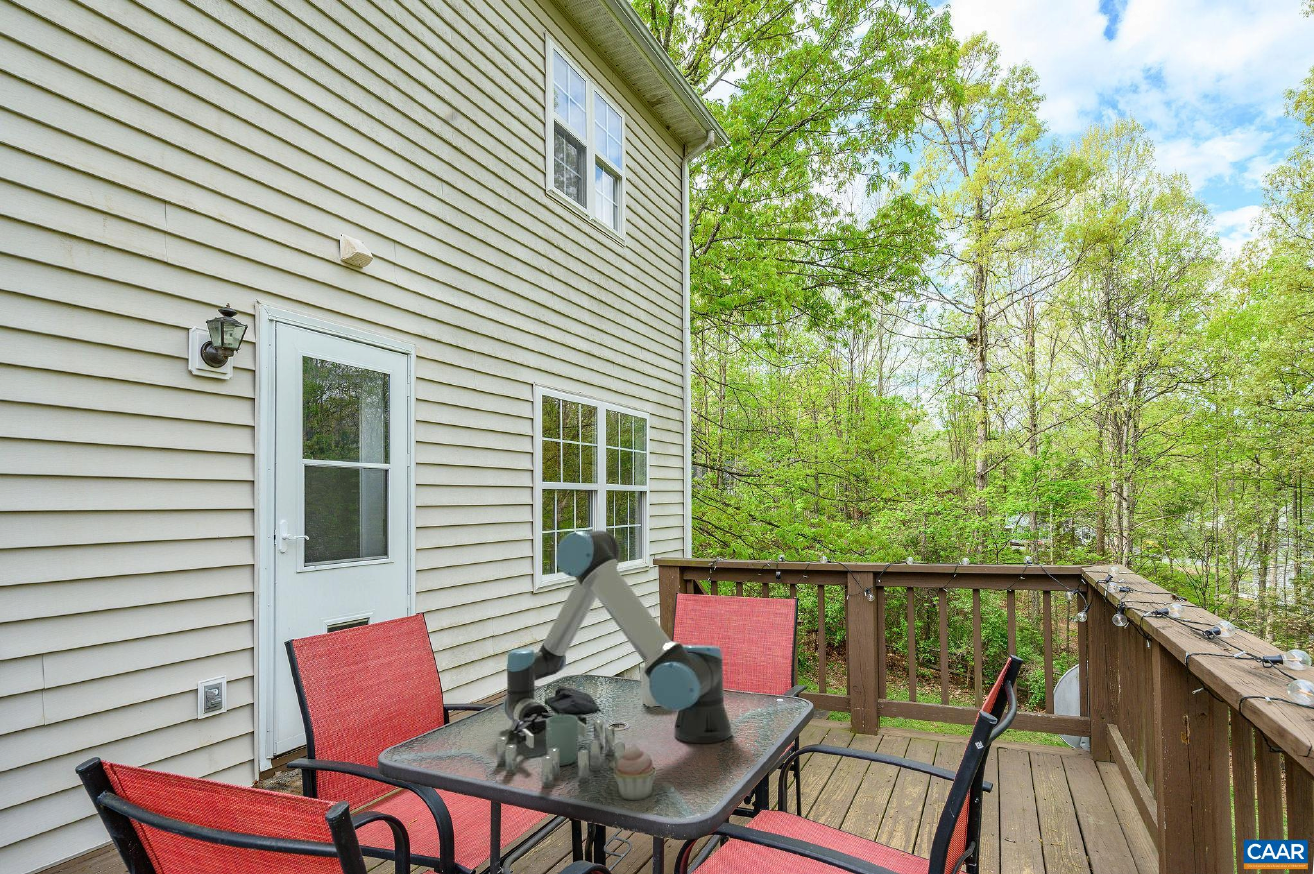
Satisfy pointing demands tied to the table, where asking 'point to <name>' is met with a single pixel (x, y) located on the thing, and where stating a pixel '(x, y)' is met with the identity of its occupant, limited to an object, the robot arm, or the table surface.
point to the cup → (563, 737)
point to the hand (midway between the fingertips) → (559, 736)
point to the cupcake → (635, 774)
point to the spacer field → (552, 761)
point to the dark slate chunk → (572, 701)
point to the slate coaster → (533, 752)
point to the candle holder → (646, 688)
